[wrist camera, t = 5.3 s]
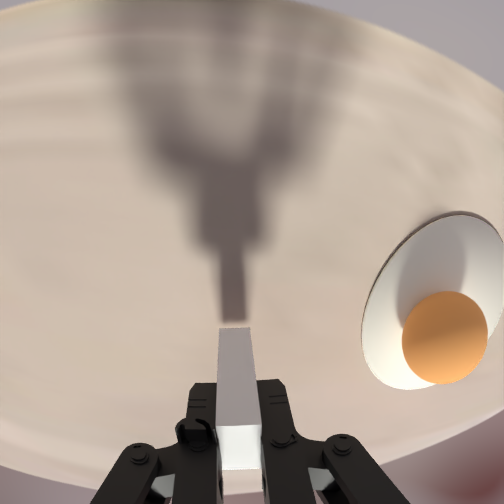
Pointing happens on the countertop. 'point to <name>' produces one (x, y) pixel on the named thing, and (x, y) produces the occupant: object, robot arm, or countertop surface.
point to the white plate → (431, 288)
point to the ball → (444, 337)
